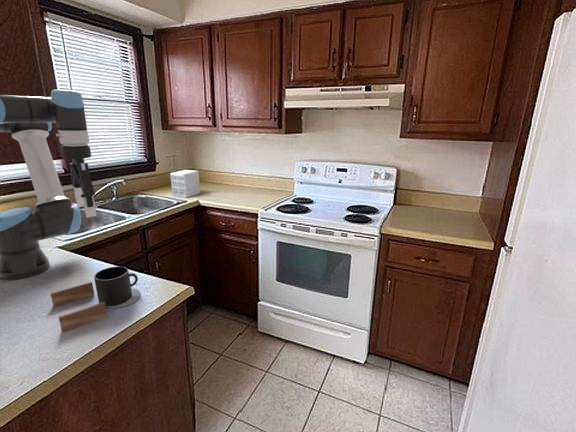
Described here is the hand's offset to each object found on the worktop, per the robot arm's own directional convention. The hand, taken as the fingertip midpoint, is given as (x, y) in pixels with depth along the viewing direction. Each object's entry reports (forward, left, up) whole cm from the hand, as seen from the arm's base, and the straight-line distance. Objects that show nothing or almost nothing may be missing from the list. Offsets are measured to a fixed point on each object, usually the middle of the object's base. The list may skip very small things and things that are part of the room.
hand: (86, 211), depth 102 cm
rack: (+14, -8, -27) cm, 31 cm away
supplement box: (-110, +84, -27) cm, 141 cm away
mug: (+15, +3, -26) cm, 30 cm away
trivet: (+15, +3, -27) cm, 31 cm away
